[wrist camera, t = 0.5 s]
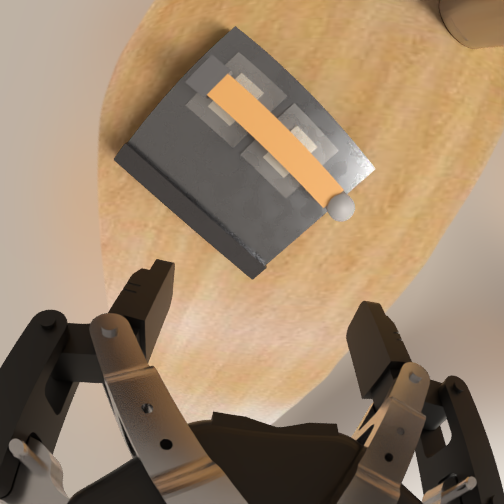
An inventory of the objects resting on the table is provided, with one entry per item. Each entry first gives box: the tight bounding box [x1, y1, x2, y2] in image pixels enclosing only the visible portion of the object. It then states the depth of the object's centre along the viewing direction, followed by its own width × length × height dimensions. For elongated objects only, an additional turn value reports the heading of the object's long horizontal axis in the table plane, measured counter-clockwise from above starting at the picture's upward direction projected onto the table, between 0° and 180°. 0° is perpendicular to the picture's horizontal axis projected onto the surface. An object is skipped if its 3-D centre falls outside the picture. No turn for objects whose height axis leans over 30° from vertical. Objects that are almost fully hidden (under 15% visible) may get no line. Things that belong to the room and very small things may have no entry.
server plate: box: [114, 26, 375, 280], centre depth 32 cm, size 20×22×4 cm
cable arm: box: [185, 55, 355, 221], centre depth 27 cm, size 4×21×3 cm, turn 45°
